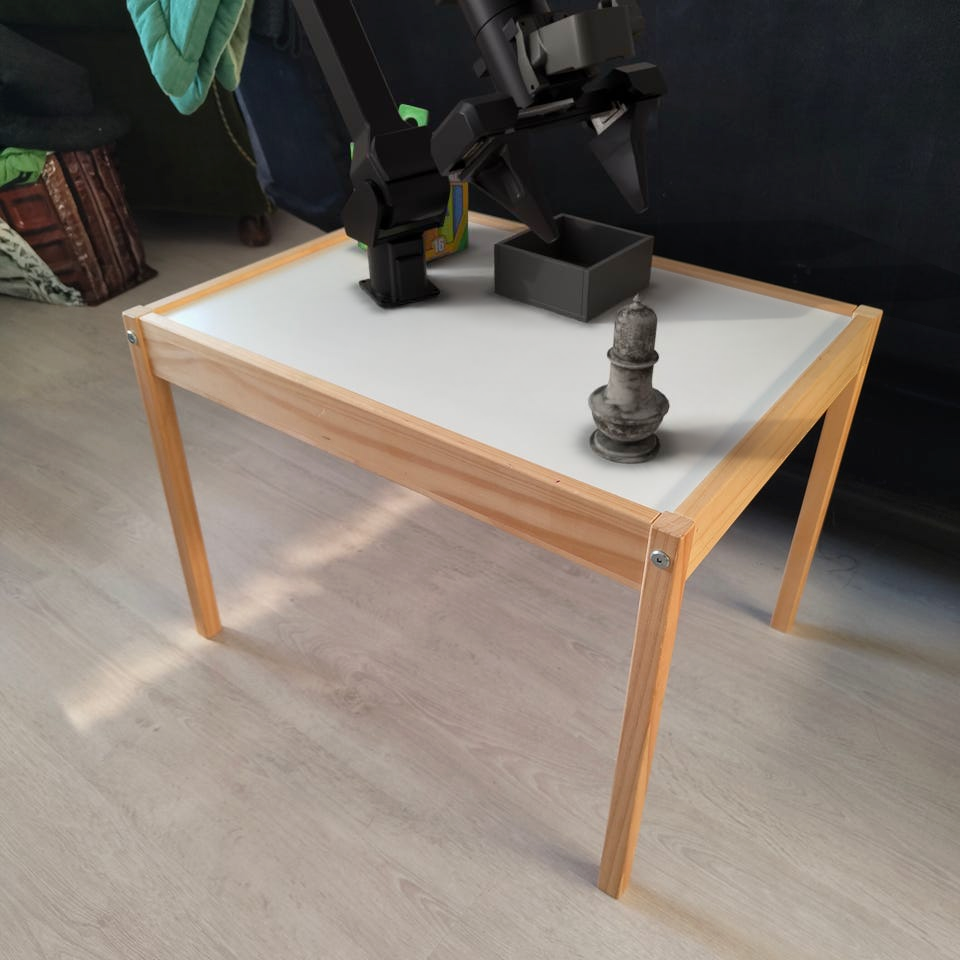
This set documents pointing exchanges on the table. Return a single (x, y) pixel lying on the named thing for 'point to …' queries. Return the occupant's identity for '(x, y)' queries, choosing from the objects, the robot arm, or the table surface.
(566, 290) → the basket
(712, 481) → the table surface
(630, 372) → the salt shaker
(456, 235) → the chalk box
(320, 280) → the table surface
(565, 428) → the table surface
